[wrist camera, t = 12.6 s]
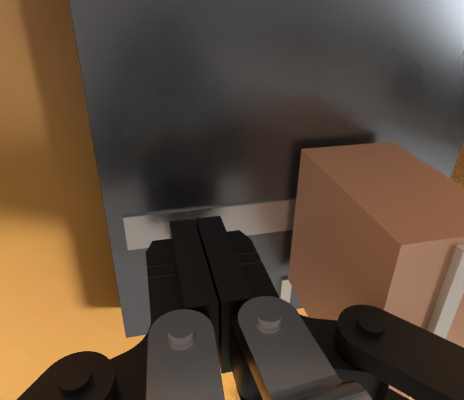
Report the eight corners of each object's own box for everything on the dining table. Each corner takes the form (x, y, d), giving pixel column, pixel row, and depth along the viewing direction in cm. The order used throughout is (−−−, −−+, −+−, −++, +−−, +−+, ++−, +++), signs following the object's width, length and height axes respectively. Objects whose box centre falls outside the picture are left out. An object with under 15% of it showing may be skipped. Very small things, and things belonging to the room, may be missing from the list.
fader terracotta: (390, 141, 12) (538, 232, 8) (363, 267, 15) (464, 389, 10) (301, 149, 12) (407, 251, 7) (288, 278, 14) (361, 414, 10)
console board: (600, -487, 8) (694, -578, 7) (395, 266, 18) (418, 290, 17) (-36, -697, 6) (-87, -908, 4) (126, 308, 16) (126, 340, 14)
